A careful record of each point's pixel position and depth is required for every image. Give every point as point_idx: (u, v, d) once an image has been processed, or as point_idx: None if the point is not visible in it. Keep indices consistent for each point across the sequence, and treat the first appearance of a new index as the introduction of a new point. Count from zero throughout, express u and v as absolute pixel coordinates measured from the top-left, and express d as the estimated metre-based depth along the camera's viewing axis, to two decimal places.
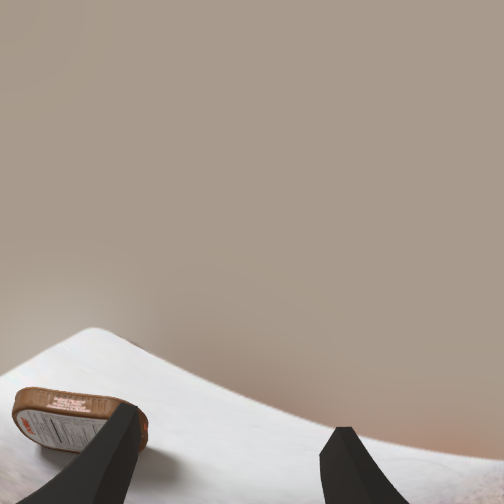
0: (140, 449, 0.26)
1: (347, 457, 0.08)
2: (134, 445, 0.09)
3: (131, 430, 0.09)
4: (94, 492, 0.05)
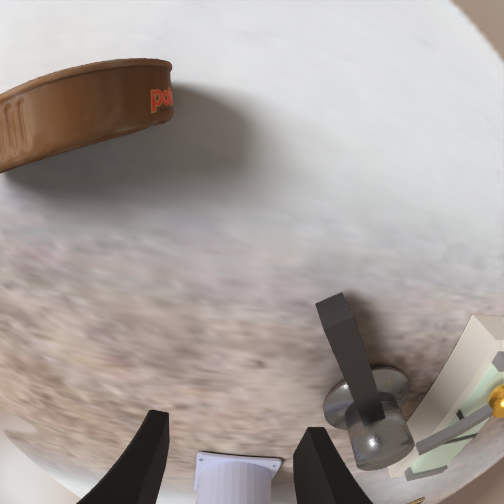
0: (161, 123, 0.13)
1: (316, 458, 0.08)
2: (164, 452, 0.09)
3: (164, 437, 0.09)
4: (135, 503, 0.06)
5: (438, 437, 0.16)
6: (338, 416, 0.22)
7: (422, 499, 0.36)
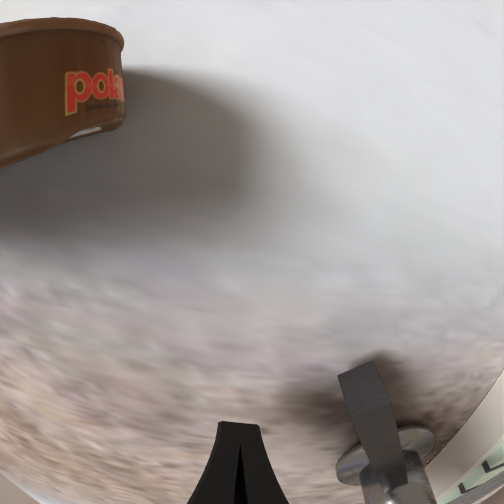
0: (112, 129, 0.08)
1: (241, 456, 0.08)
2: None
3: None
4: None
5: (465, 500, 0.11)
6: (352, 475, 0.17)
7: None
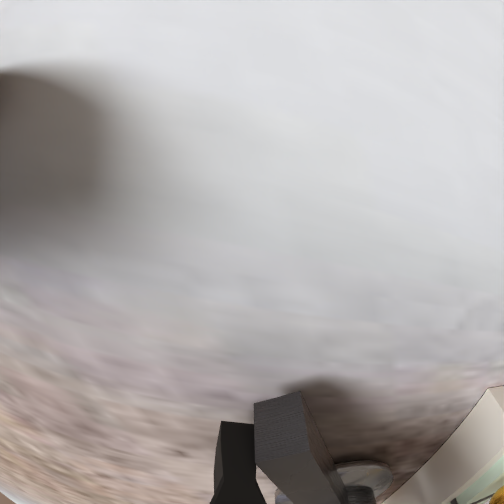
0: None
1: (220, 454, 0.08)
2: None
3: None
4: None
5: None
6: None
7: None
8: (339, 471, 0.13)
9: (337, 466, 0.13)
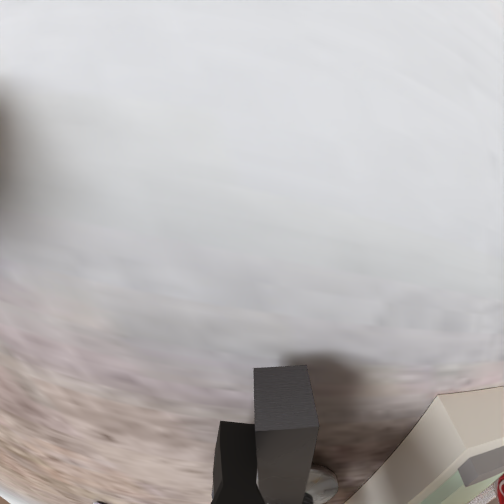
0: None
1: (219, 454, 0.08)
2: None
3: None
4: None
5: None
6: None
7: None
8: None
9: None
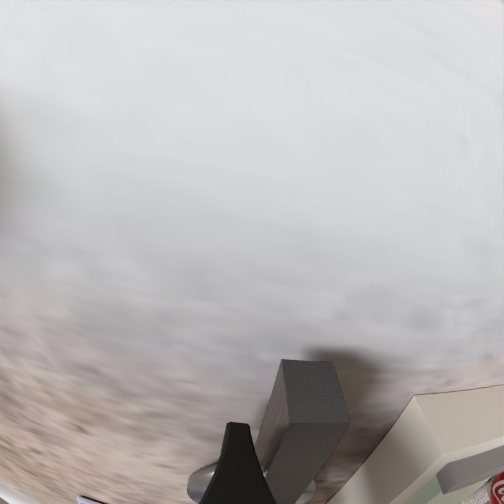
0: None
1: (230, 455, 0.08)
2: None
3: None
4: None
5: None
6: None
7: None
8: None
9: None
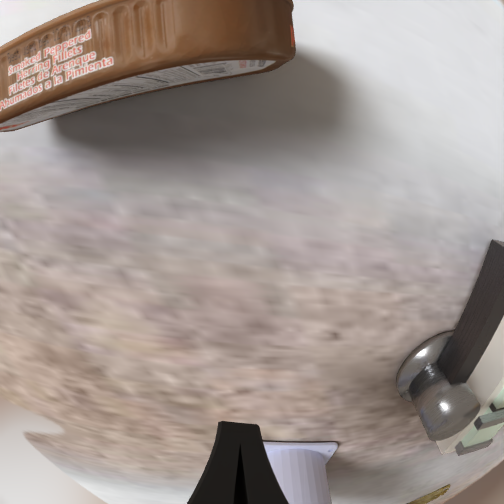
0: (268, 70, 0.12)
1: (241, 456, 0.08)
2: None
3: None
4: None
5: (494, 416, 0.16)
6: (412, 374, 0.20)
7: (448, 486, 0.35)
8: None
9: None
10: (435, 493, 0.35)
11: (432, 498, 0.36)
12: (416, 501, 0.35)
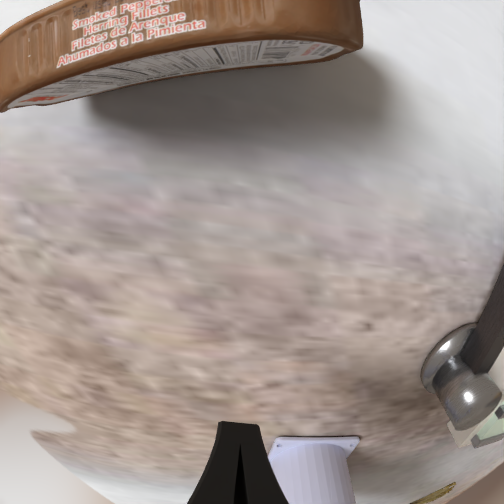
0: (324, 60, 0.12)
1: (241, 456, 0.08)
2: None
3: None
4: None
5: None
6: (437, 365, 0.20)
7: (453, 484, 0.35)
8: None
9: None
10: (441, 491, 0.35)
11: (438, 496, 0.36)
12: (422, 499, 0.35)
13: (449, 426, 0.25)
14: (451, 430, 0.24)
